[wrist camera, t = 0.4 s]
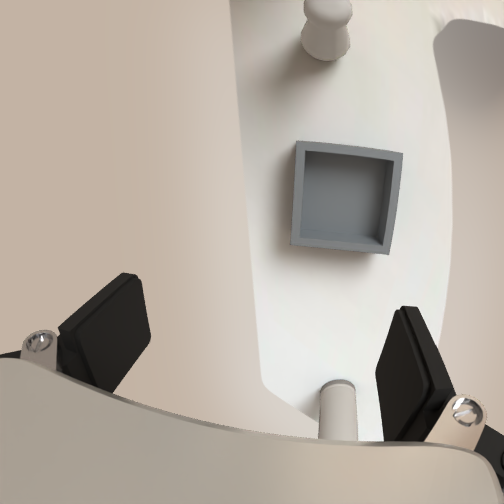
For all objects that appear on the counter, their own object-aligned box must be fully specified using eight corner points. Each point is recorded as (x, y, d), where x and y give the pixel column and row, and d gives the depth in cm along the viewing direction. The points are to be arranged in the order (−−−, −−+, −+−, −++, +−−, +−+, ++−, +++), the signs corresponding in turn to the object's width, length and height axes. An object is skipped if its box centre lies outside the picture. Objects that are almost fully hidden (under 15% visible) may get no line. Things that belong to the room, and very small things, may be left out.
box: (298, 140, 35) (296, 140, 31) (392, 151, 33) (403, 153, 29) (292, 233, 39) (290, 244, 35) (381, 242, 37) (389, 254, 33)
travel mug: (363, 388, 47) (369, 485, 29) (336, 405, 50) (333, 497, 31) (341, 372, 46) (341, 474, 28) (313, 391, 49) (304, 487, 31)
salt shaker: (342, 24, 28) (353, -23, 16) (352, 63, 30) (370, 28, 18) (297, 28, 29) (287, -18, 17) (306, 67, 31) (302, 33, 19)
